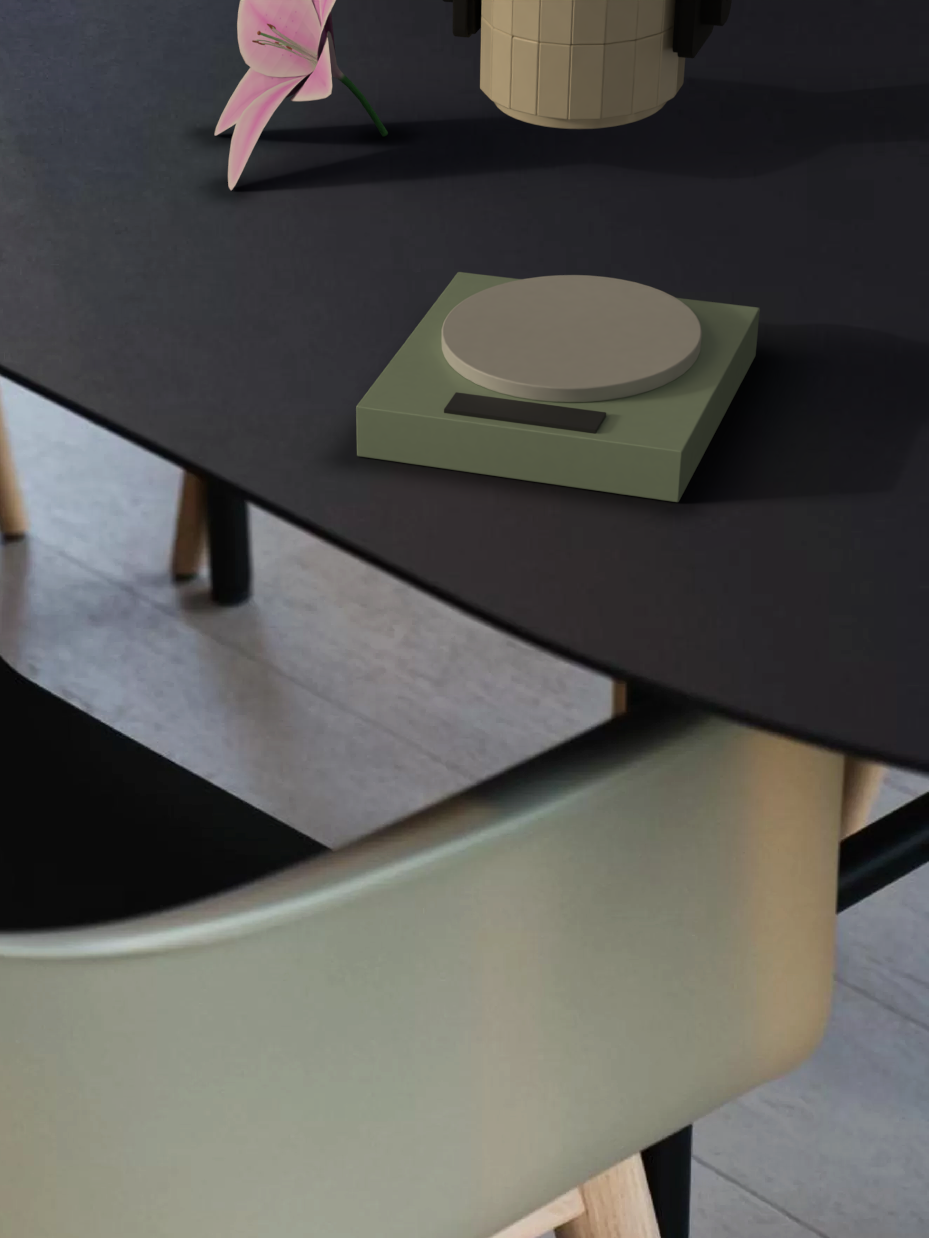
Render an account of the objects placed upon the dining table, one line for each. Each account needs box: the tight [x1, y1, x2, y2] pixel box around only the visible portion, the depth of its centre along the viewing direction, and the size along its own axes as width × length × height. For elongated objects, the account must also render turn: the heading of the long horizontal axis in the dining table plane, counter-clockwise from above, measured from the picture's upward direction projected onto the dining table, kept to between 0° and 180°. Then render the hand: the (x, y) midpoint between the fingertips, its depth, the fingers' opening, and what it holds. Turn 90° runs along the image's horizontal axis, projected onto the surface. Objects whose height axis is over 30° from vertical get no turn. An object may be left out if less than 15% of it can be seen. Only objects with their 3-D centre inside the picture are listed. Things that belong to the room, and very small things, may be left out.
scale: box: [355, 271, 761, 503], centre depth 94 cm, size 12×12×3 cm
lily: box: [214, 0, 389, 191], centre depth 113 cm, size 12×12×10 cm
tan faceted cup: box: [479, 0, 686, 130], centre depth 86 cm, size 7×7×6 cm
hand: (583, 29), depth 87 cm, fingers closed on tan faceted cup, 7 cm apart
